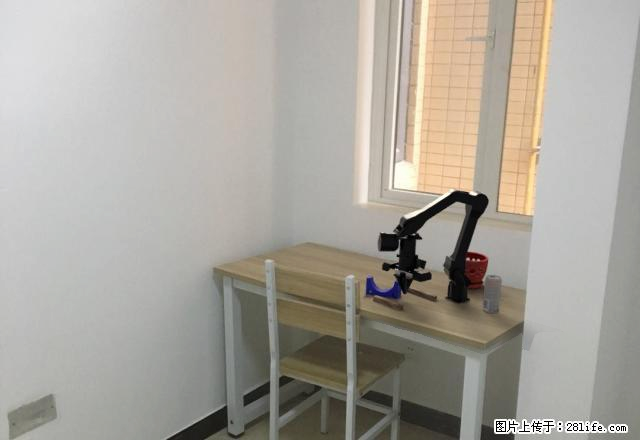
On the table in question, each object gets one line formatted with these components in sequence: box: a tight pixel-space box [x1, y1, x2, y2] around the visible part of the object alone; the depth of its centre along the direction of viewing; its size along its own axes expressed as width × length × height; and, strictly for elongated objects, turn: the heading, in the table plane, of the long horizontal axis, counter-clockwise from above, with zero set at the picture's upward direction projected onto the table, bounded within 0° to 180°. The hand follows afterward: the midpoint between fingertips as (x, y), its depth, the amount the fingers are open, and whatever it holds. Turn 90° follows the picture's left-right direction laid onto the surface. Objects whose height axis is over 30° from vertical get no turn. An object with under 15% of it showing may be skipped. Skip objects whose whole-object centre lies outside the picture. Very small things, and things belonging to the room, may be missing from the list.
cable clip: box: [365, 275, 402, 300], centre depth 216 cm, size 12×4×6 cm, turn 66°
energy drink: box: [482, 274, 503, 314], centre depth 201 cm, size 5×5×12 cm
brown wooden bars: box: [372, 286, 438, 311], centre depth 211 cm, size 13×19×2 cm
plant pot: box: [465, 251, 489, 289], centre depth 229 cm, size 13×13×12 cm
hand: (404, 294), depth 211 cm, fingers closed
